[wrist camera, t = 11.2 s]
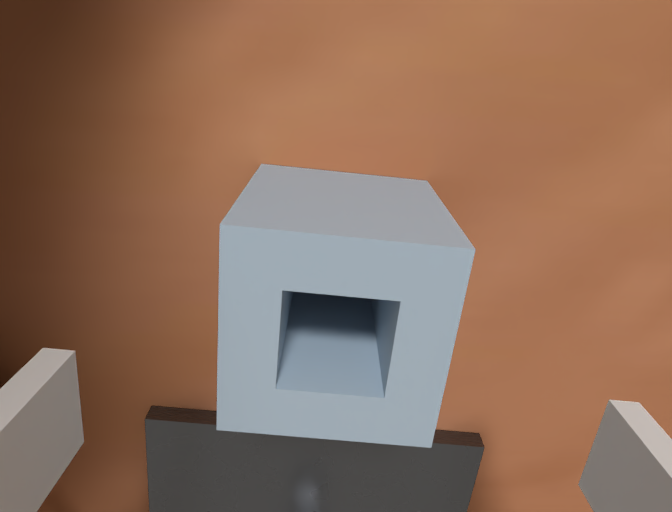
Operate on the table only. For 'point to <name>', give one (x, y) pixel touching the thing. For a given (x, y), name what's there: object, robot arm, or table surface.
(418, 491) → the post plate
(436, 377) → the hollow square cube
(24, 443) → the robot arm
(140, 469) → the table surface
